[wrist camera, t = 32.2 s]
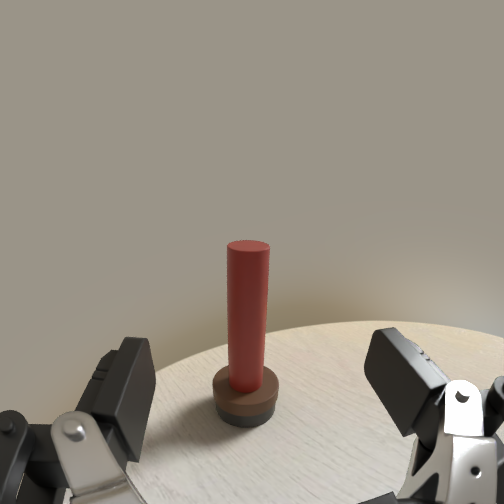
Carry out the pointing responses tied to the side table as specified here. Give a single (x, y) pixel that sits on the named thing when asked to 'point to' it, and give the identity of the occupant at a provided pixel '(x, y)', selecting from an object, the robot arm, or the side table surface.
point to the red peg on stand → (246, 340)
